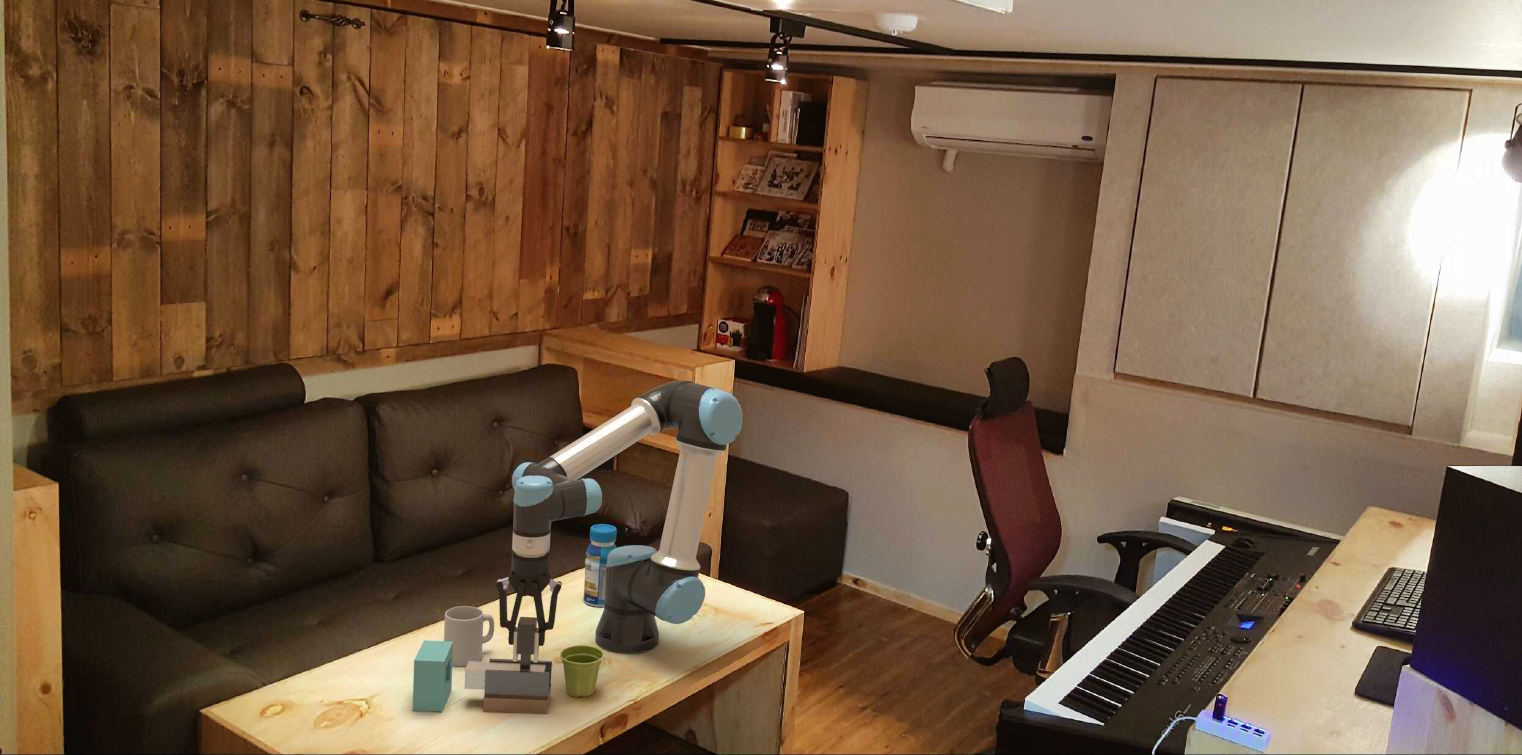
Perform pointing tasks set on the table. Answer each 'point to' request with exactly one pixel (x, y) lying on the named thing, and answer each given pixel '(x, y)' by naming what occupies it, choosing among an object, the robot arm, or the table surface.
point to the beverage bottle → (598, 563)
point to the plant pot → (581, 669)
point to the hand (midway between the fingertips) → (525, 658)
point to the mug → (467, 633)
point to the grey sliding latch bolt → (524, 647)
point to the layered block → (517, 689)
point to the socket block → (432, 675)
